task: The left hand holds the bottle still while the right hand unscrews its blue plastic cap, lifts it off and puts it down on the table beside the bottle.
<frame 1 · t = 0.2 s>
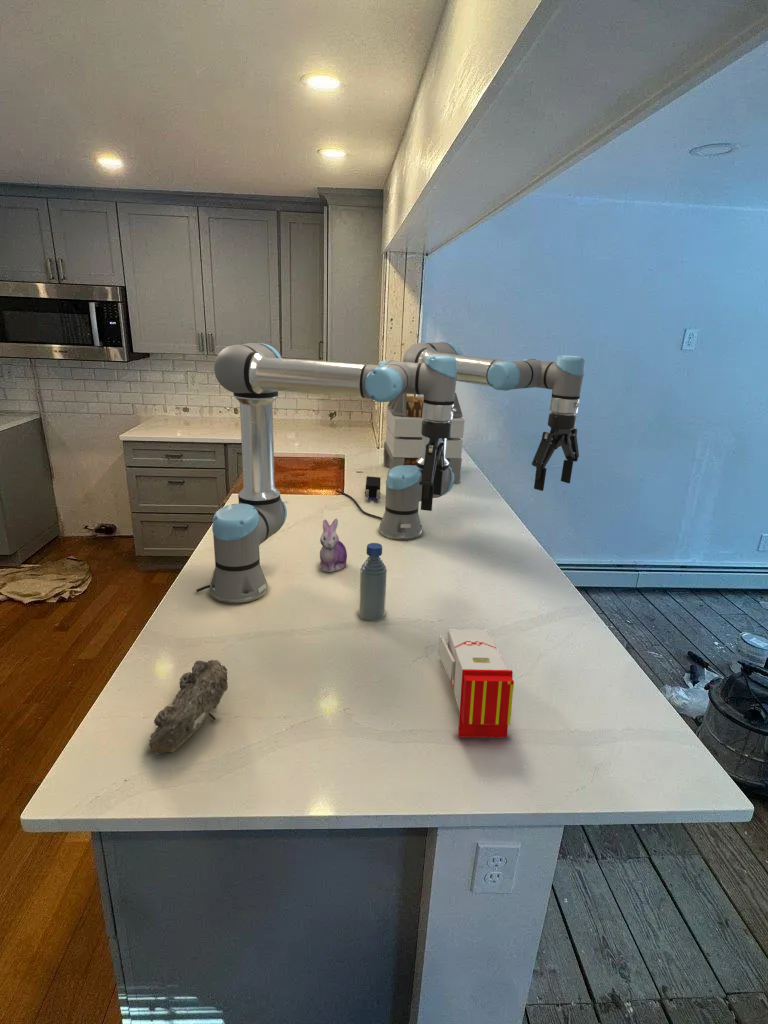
left hand: (431, 501, 147), 28 cm above the counter, tool pointing down, fingers open, 13 cm apart
right hand: (552, 485, 166), 28 cm above the counter, tool pointing down, fingers open, 13 cm apart
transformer: (419, 473, 275), on the counter
cap: (374, 546, 141), point 19 cm above the counter, screwed on, not yet turned
fossil: (196, 717, 108), on the counter
figurine: (332, 566, 173), on the counter
figurine character: (372, 498, 236), on the counter
toy: (469, 691, 119), on the counter
bottle: (371, 613, 147), on the counter
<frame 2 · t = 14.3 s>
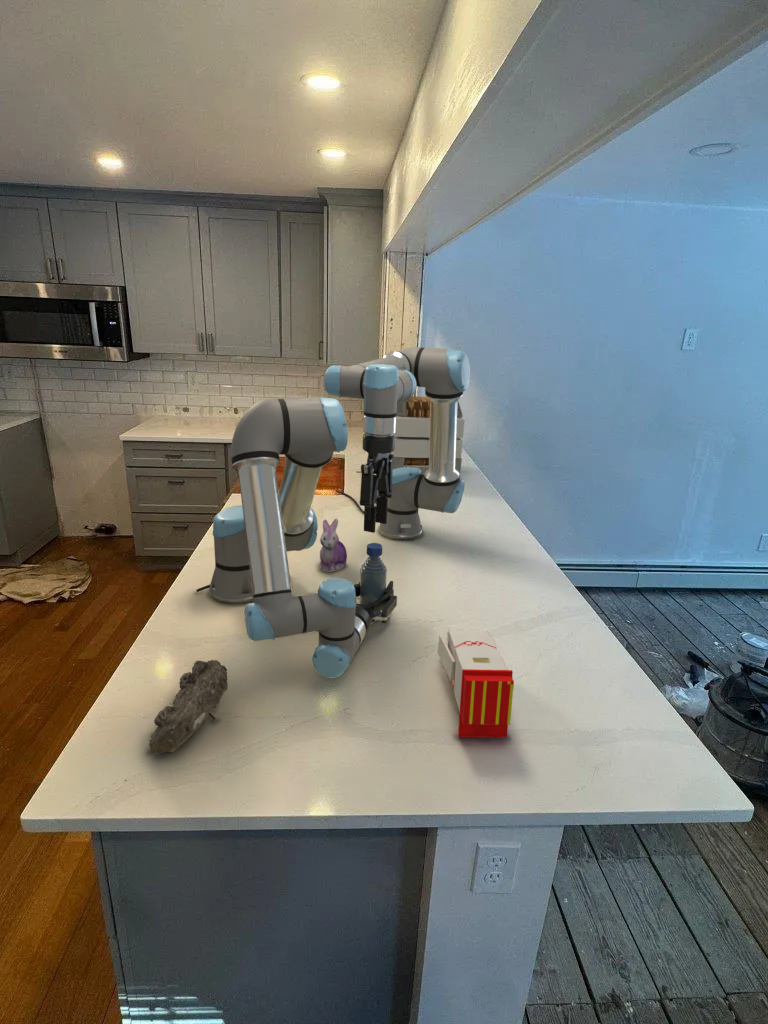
left hand: (377, 583, 149), 6 cm above the counter, tool horizontal, fingers closed on bottle, 7 cm apart
right hand: (375, 526, 139), 24 cm above the counter, tool pointing down, fingers open, 6 cm apart
bottle: (371, 613, 147), on the counter, touching left hand
everything else where it was.
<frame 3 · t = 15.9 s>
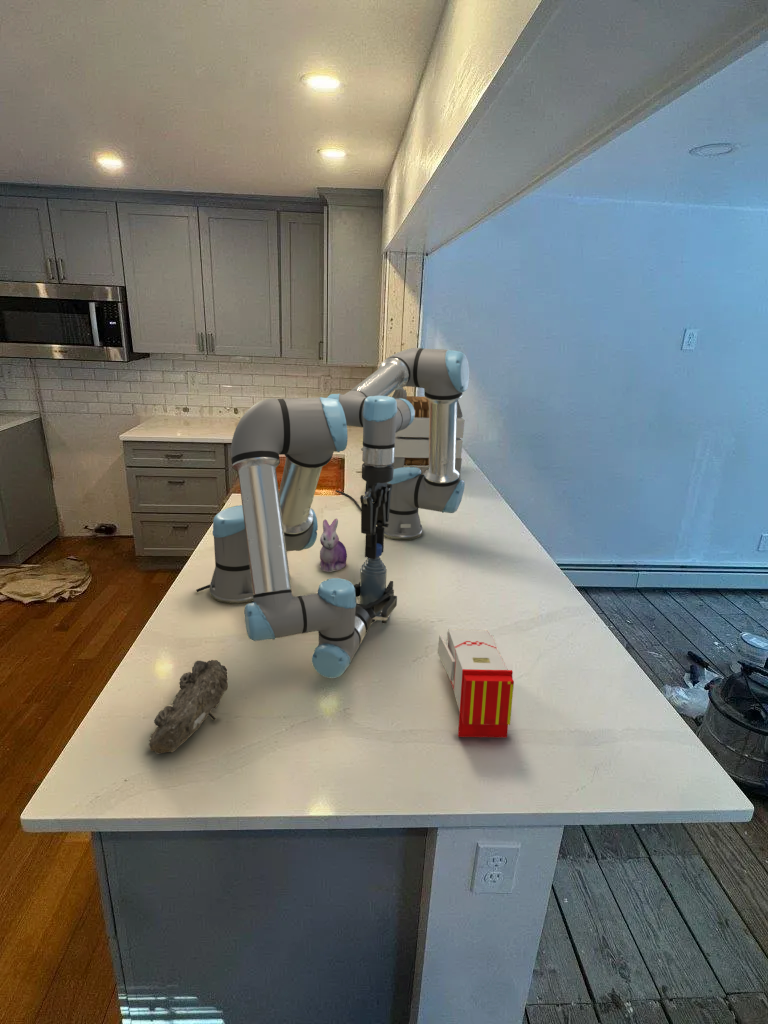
left hand: (377, 583, 149), 6 cm above the counter, tool horizontal, fingers closed on bottle, 7 cm apart
right hand: (374, 554, 141), 17 cm above the counter, tool pointing down, fingers closed on cap, 4 cm apart
cap: (374, 546, 141), point 19 cm above the counter, screwed on, not yet turned, touching right hand
bottle: (371, 613, 147), on the counter, touching left hand
everything else where it was.
when the right hand's fingers open (1 cm above the counter, at t = 33.1 s): cap drops 1 cm, point 2 cm above the counter.
when the left hand's fingers open (6 cm above the counter, at t = 34.4 s): bottle stays where it is, on the counter.
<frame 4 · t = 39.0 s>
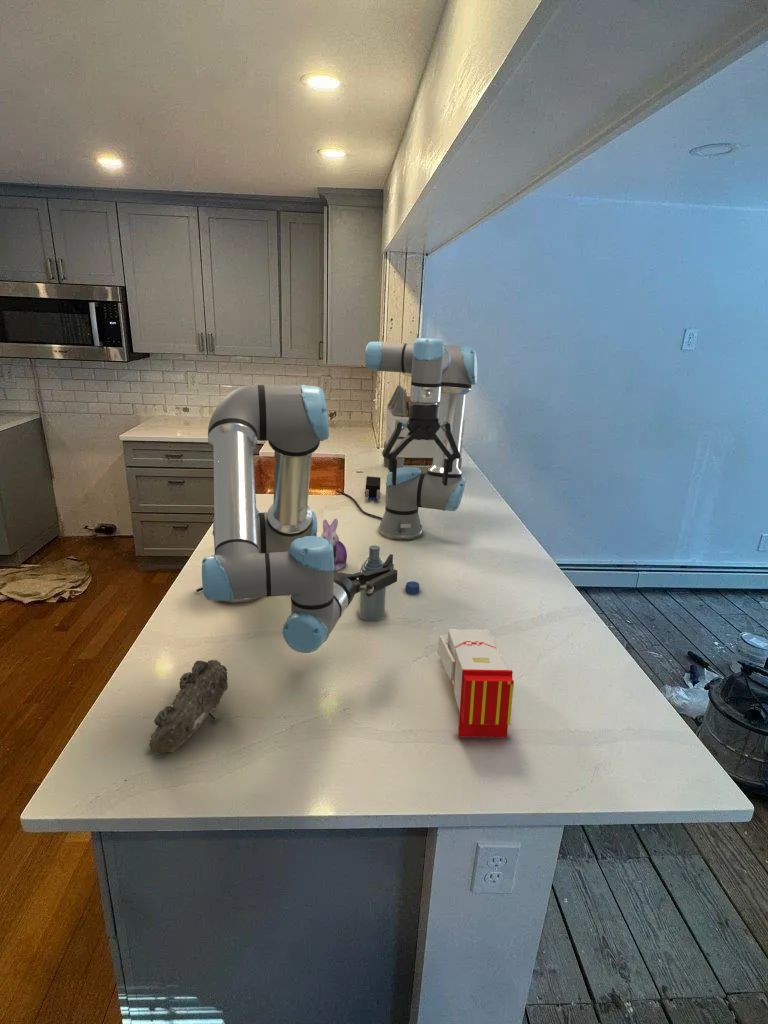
left hand: (362, 555, 130), 21 cm above the counter, tool horizontal, fingers open, 13 cm apart
right hand: (419, 484, 149), 32 cm above the counter, tool pointing down, fingers open, 13 cm apart
cap: (412, 585, 159), point 2 cm above the counter, off its thread
bottle: (371, 614, 147), on the counter
everything else where it was.
at the end: cap came off its thread; cap point 1.9 cm above the counter; the left hand is holding nothing; the right hand is holding nothing; bottle tilted 0°; bottle moved 0.0 cm from its start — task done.
